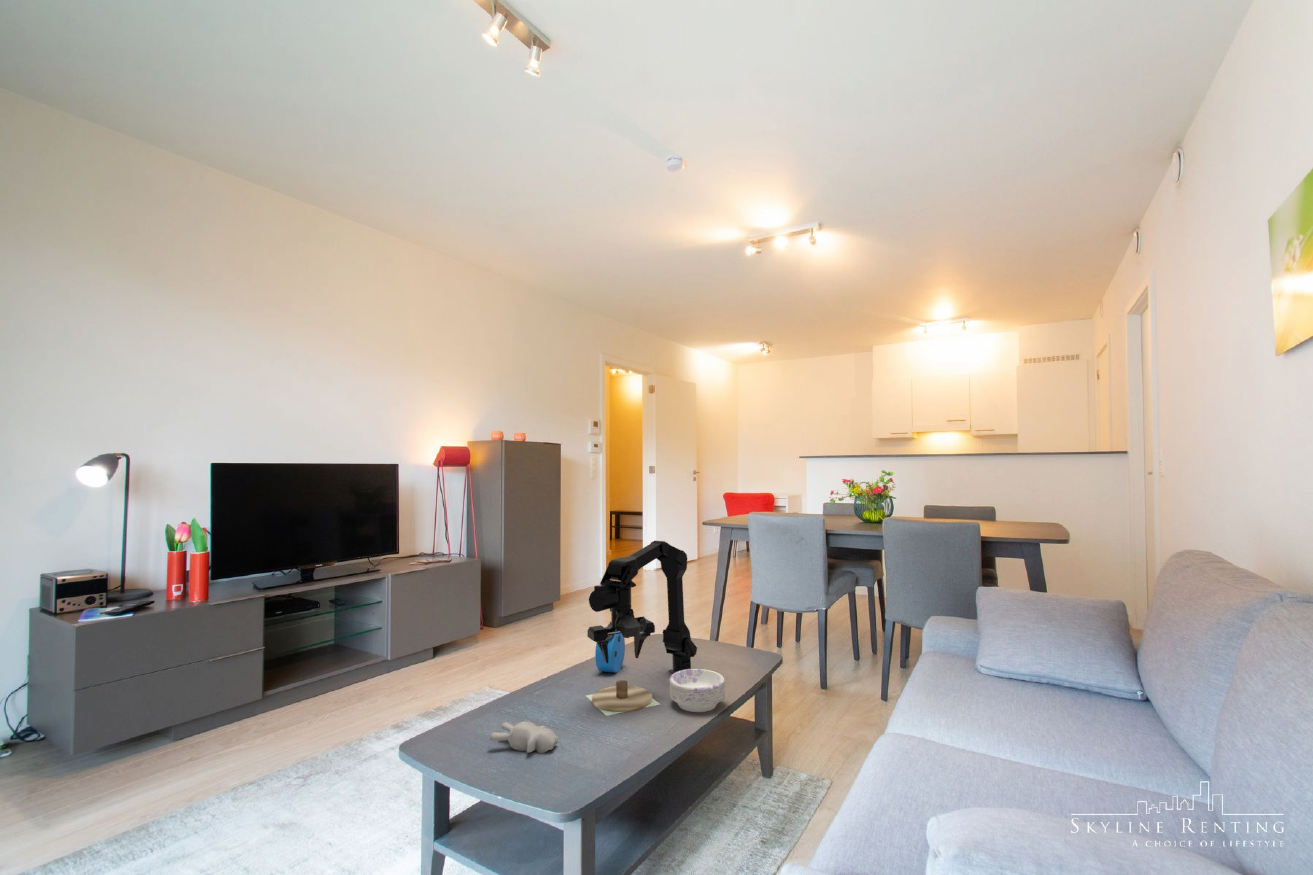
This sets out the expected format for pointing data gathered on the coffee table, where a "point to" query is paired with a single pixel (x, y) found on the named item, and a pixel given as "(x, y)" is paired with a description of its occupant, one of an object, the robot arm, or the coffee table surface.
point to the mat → (621, 712)
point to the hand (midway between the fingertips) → (621, 660)
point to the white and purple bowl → (697, 689)
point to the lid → (621, 698)
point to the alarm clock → (611, 653)
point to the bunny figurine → (527, 737)
